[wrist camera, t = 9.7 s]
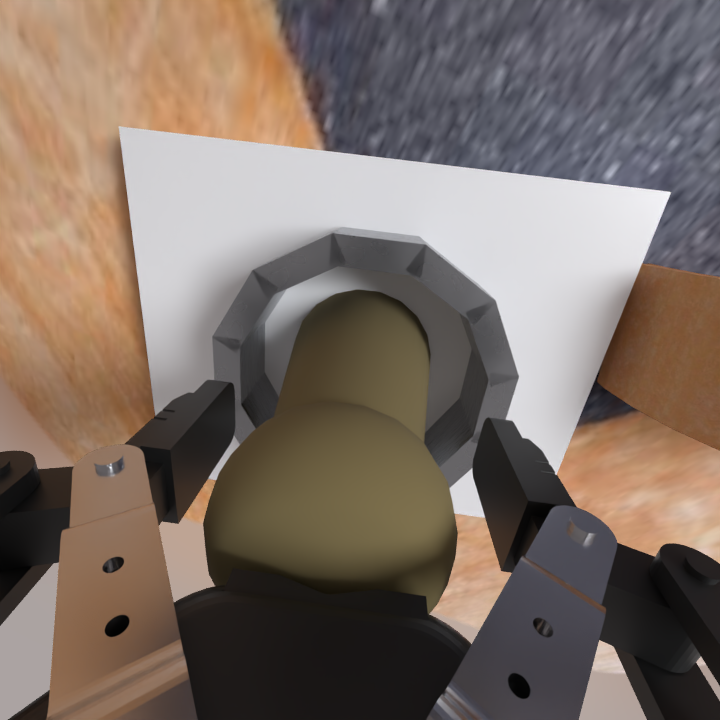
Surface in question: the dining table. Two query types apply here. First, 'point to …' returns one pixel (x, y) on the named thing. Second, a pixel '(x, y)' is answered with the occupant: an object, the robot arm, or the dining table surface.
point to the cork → (341, 464)
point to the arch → (669, 351)
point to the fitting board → (394, 215)
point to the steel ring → (384, 254)
